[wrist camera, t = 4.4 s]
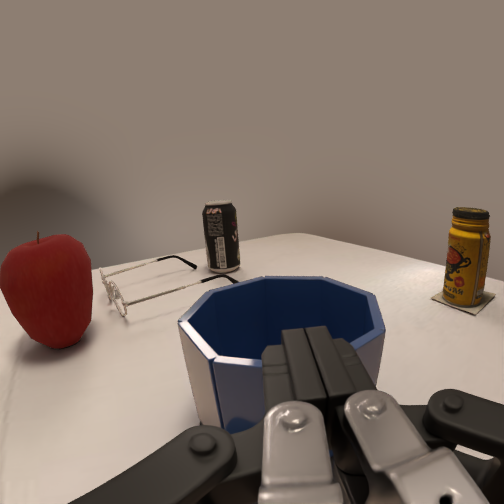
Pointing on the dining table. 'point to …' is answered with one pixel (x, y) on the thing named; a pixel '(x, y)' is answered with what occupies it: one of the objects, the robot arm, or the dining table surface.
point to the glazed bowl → (267, 338)
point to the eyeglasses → (117, 293)
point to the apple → (49, 289)
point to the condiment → (467, 261)
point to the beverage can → (221, 236)
